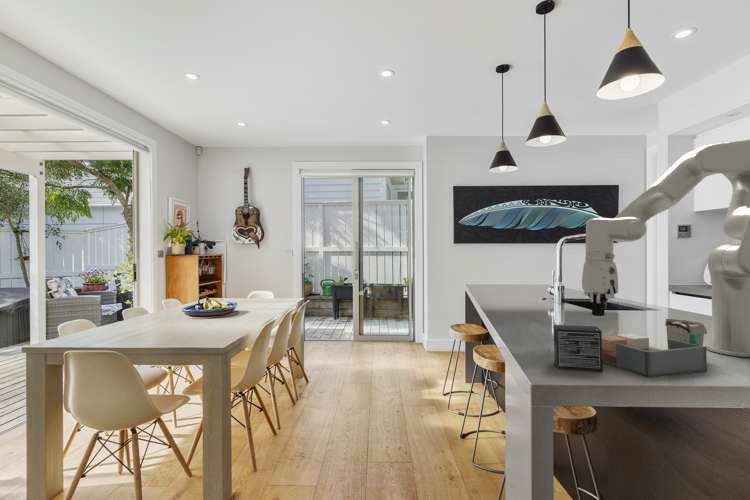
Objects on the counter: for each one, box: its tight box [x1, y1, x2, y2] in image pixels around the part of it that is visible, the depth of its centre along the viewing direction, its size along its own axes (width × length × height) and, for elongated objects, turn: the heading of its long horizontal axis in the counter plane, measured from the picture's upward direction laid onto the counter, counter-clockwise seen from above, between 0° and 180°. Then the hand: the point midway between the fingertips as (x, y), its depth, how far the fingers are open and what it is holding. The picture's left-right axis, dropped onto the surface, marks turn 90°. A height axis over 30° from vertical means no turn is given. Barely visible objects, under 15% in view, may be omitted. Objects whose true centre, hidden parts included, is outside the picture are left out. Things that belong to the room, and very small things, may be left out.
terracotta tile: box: [602, 334, 627, 352], centre depth 105 cm, size 6×6×3 cm
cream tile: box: [615, 333, 650, 349], centre depth 107 cm, size 6×6×3 cm
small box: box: [553, 324, 604, 373], centre depth 97 cm, size 11×6×10 cm, turn 71°
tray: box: [615, 339, 708, 379], centre depth 95 cm, size 18×9×6 cm, turn 103°
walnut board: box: [602, 345, 663, 367], centre depth 106 cm, size 18×13×2 cm
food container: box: [664, 318, 708, 349], centre depth 103 cm, size 12×6×10 cm, turn 168°
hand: (598, 315), depth 118 cm, fingers closed
